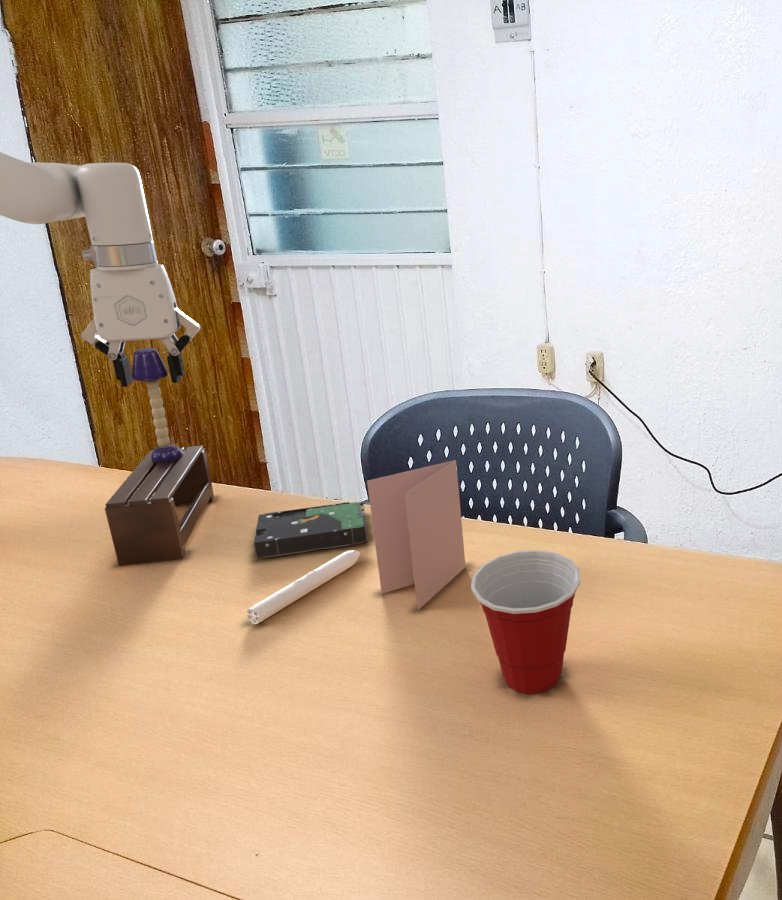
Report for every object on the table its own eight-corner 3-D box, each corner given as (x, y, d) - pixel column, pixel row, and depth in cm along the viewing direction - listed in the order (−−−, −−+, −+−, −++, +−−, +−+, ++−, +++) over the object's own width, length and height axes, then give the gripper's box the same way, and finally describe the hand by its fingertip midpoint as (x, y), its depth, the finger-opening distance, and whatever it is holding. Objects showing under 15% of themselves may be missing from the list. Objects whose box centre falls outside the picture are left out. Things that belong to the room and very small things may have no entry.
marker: (354, 557, 112) (352, 542, 111) (366, 560, 111) (364, 544, 110) (247, 622, 97) (244, 604, 96) (260, 626, 96) (257, 608, 95)
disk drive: (257, 562, 112) (369, 543, 116) (253, 543, 111) (367, 525, 115) (260, 531, 121) (365, 515, 125) (257, 514, 120) (362, 497, 124)
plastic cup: (466, 708, 81) (455, 599, 77) (494, 646, 91) (486, 547, 87) (575, 715, 79) (570, 605, 75) (592, 651, 89) (589, 552, 85)
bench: (118, 565, 111) (103, 504, 108) (160, 503, 132) (148, 450, 128) (182, 558, 113) (169, 497, 110) (214, 497, 133) (204, 445, 130)
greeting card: (462, 564, 109) (452, 458, 104) (488, 586, 103) (479, 474, 98) (379, 590, 103) (364, 478, 98) (401, 615, 97) (387, 498, 92)
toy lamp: (192, 454, 126) (170, 347, 120) (168, 465, 122) (144, 354, 116) (167, 451, 127) (144, 345, 122) (142, 462, 123) (118, 352, 118)
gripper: (46, 263, 109) (78, 394, 116) (186, 256, 113) (210, 384, 119) (66, 257, 116) (96, 381, 122) (198, 251, 120) (220, 372, 126)
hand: (152, 381), depth 121 cm, fingers open, 6 cm apart
